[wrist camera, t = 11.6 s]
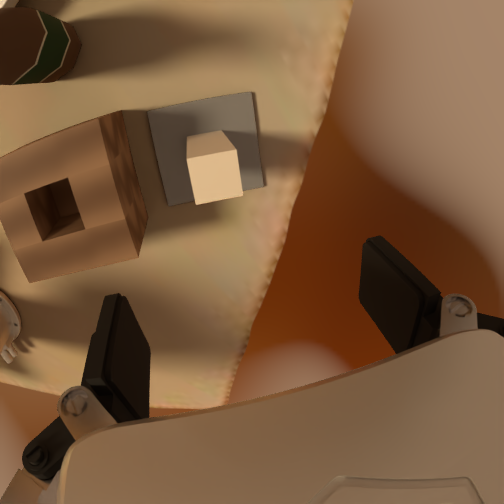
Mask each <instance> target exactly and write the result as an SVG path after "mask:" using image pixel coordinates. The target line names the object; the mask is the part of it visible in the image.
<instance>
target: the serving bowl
mask: <svg viewBox="0 0 504 504" xmlns="http://www.w3.org/2000/svg"><path fill="white" fill-rule="evenodd" d="M18 1H19V0H0V8H8V7H15V6H16V4H17V3H18Z"/></svg>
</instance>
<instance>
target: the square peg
mask: <svg viewBox="0 0 504 504" xmlns="http://www.w3.org/2000/svg"><path fill="white" fill-rule="evenodd" d="M187 164H188V169H189V174H190V179H191V184H192V189H193V194H194V198H195V203H196V205H198V204H203V203H208V202H213V201H218V200H223V199H228V198H233V197H239V196H243V191H242V184H241V177H240V170H239V163H238V156H237V150H236V148H235V147H234V146H233V144H232V143H231V142H230V141H229V139H228V138H227V137H226V136H225V134H224V133H223V132H222V130H219V131H213V132H208V133H203V134H198V135H192V136H188V137H187Z"/></svg>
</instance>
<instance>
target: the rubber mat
mask: <svg viewBox="0 0 504 504" xmlns="http://www.w3.org/2000/svg"><path fill="white" fill-rule="evenodd" d="M147 114H148V119H149V124H150V128H151V133H152V138H153V142H154V147H155V152H156V156H157V160H158V165H159V169H160V173H161V178H162V182H163V186H164V190H165V194H166V198H167V202H168V206H173V205H178V204H182V203H187V202H191V201H195V198H194V194H193V189H192V184H191V179H190V174H189V169H188V164H187V137H188V136H192V135H198V134H203V133H208V132H213V131H219V130H222V132H223V133H224V134H225V136H226V137H227V138H228V139H229V141H230V142H231V143H232V144H233V146H234V147H235V148H236V150H237V156H238V163H239V170H240V177H241V184H242V191H245V190H250V189H255V188H261V187H264V185H263V177H262V169H261V161H260V153H259V146H258V138H257V130H256V123H255V115H254V108H253V101H252V93H251V92H245V93H238V94H231V95H225V96H219V97H213V98H207V99H202V100H196V101H191V102H186V103H182V104H177V105H172V106H168V107H164V108H159V109H155V110H151V111H147Z"/></svg>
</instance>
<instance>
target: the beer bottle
mask: <svg viewBox="0 0 504 504" xmlns="http://www.w3.org/2000/svg"><path fill="white" fill-rule="evenodd" d="M81 45H82V44H81V42H80V40H79V38H78V36H77V34H76V32H75V29H74V27H73V26H71V25H70V24H68V23H66V22H64V21H62V20H59V19H57V18H55V17H53V16H50V15H48V14H46V13H43V12H41V11H39V10H36V9H32V8H28V7H8V8H0V85H18V84H32V83H50V82H55V81H56V80H57V79H59V78H60V77H61V76H63V75H64V74H65V73H67V72H68V71H70V70H71V69H72V68H74V65H75V62H76V59H77V57H78V54H79V51H80V48H81Z"/></svg>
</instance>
